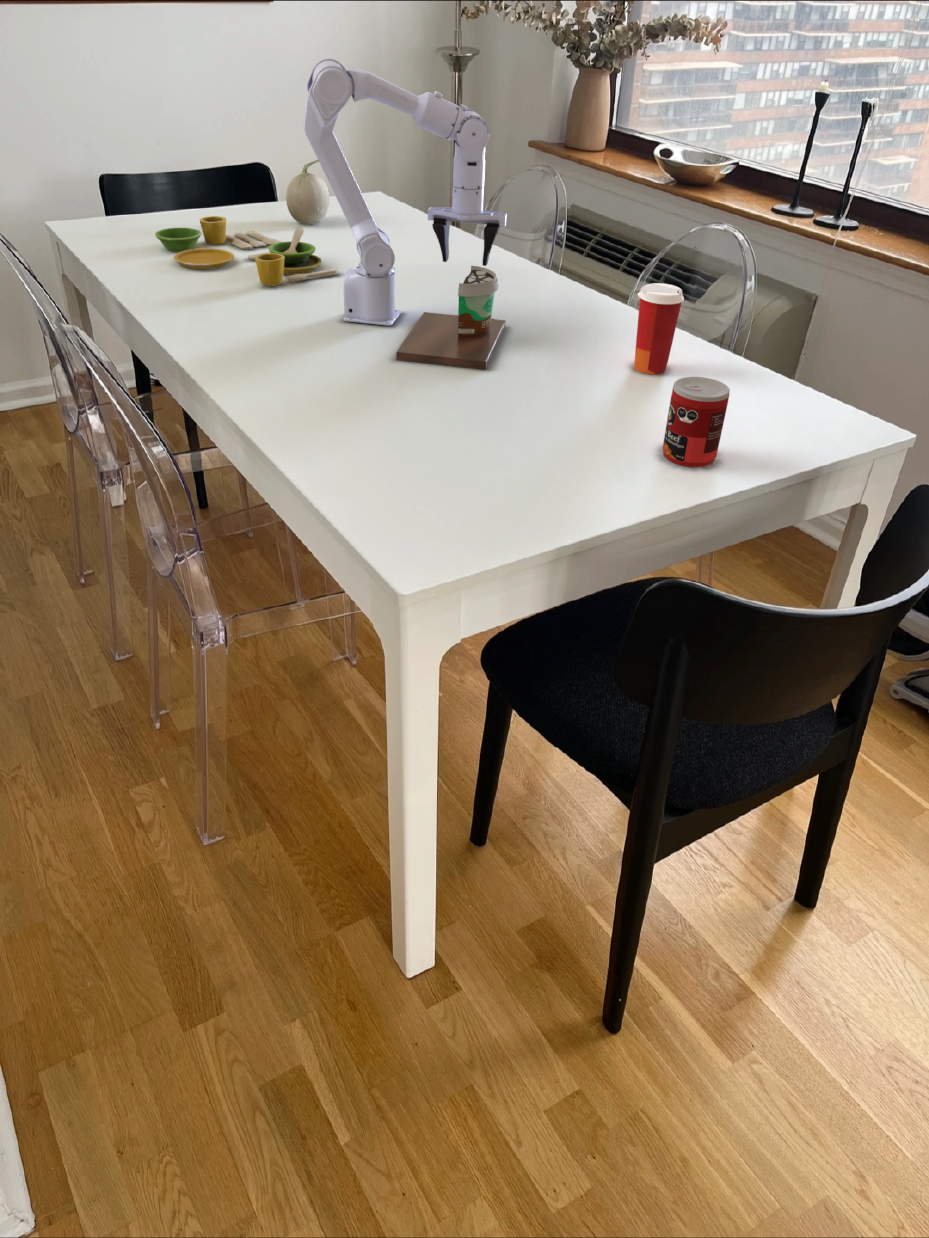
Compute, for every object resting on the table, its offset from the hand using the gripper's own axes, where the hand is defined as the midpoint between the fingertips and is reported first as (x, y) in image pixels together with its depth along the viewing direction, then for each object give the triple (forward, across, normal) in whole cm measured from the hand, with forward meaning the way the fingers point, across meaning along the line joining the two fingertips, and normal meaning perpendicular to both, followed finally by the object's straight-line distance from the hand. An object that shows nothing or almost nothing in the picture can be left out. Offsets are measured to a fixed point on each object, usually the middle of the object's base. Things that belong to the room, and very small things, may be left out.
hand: (465, 262), depth 186 cm
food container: (+9, +5, -11) cm, 15 cm away
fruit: (+11, -50, +56) cm, 76 cm away
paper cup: (+11, +37, -17) cm, 42 cm away
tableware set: (+11, -54, +21) cm, 59 cm away
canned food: (+11, +44, -51) cm, 68 cm away
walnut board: (+10, +1, -15) cm, 18 cm away
